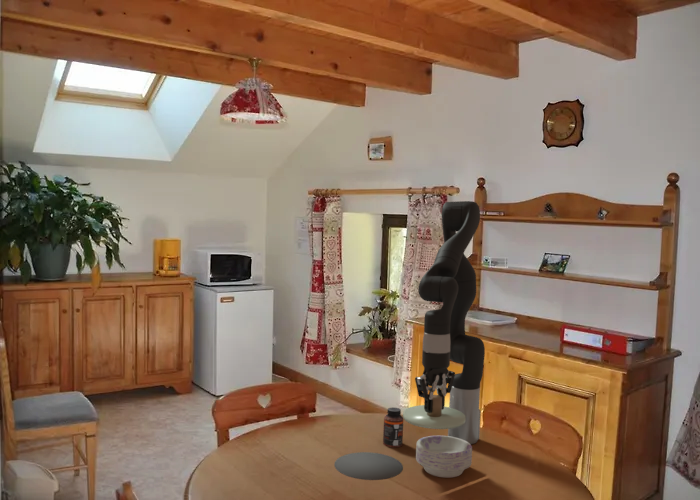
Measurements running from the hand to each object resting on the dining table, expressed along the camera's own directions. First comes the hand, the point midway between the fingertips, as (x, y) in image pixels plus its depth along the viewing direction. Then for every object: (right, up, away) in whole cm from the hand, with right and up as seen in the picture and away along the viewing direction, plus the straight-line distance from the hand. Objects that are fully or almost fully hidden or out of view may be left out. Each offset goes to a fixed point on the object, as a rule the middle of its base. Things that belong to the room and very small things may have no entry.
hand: (434, 410), depth 171 cm
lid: (0, -2, 0) cm, 2 cm away
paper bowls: (+2, -17, 0) cm, 17 cm away
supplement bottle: (-10, -16, +19) cm, 26 cm away
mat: (-18, -16, +1) cm, 24 cm away
